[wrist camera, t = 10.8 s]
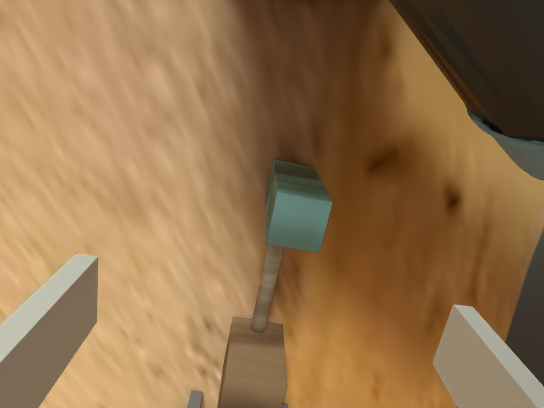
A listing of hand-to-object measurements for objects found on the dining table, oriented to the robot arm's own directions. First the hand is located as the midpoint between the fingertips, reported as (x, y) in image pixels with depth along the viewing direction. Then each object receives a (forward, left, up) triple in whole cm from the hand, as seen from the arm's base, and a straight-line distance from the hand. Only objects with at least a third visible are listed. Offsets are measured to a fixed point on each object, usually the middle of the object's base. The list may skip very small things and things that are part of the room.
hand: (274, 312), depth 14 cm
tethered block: (+9, +2, -20) cm, 23 cm away
